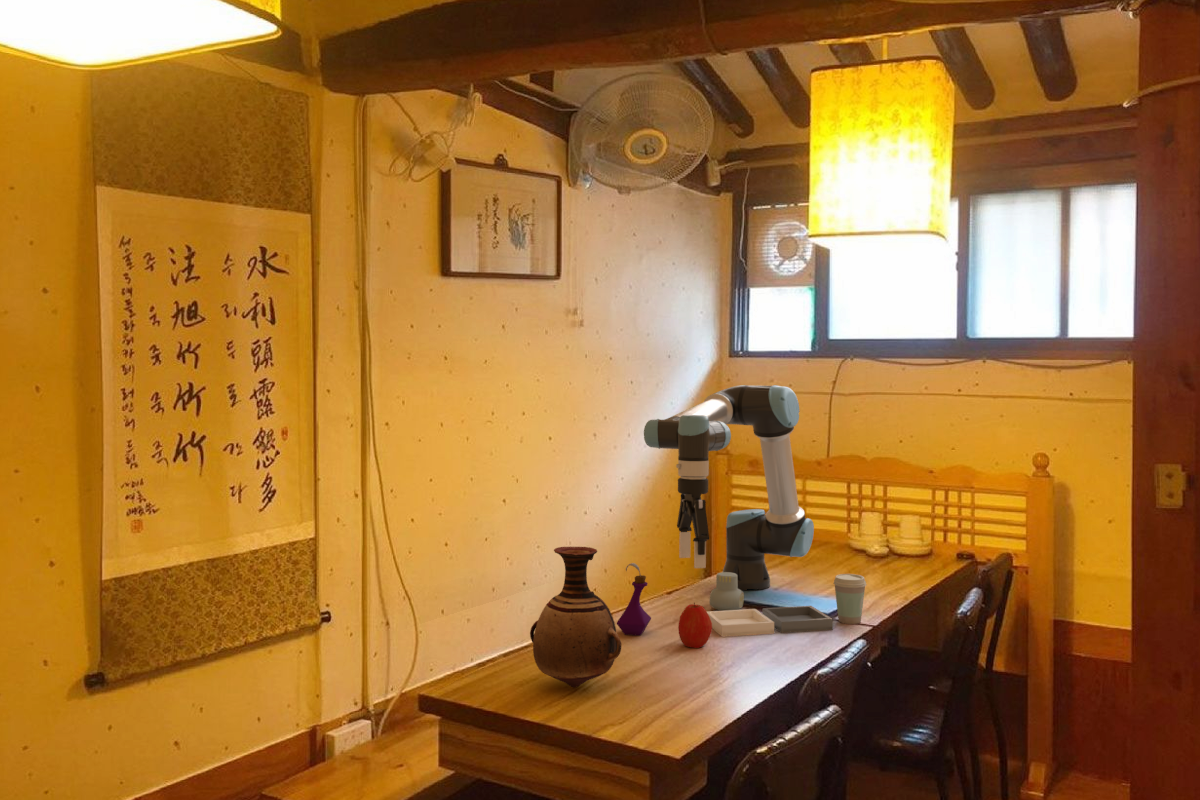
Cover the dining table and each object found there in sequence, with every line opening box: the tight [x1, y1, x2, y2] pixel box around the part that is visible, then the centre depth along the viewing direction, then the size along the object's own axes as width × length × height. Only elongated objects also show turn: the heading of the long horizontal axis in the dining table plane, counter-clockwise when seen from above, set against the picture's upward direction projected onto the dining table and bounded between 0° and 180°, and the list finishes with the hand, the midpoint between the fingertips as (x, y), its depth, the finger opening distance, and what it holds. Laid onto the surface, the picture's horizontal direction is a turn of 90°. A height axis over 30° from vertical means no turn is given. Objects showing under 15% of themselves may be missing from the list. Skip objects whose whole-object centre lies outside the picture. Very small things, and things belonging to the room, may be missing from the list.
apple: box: [677, 602, 713, 649], centre depth 252 cm, size 8×8×11 cm
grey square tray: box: [761, 605, 834, 634], centre depth 272 cm, size 14×14×3 cm
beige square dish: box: [706, 608, 775, 638], centre depth 269 cm, size 14×14×3 cm
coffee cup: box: [833, 573, 867, 625], centre depth 275 cm, size 8×9×12 cm
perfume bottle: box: [616, 562, 652, 637], centre depth 264 cm, size 8×8×18 cm
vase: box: [529, 546, 622, 688], centre depth 222 cm, size 21×18×30 cm
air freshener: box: [709, 571, 745, 611], centre depth 288 cm, size 11×8×10 cm
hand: (692, 562), depth 255 cm, fingers open, 13 cm apart
